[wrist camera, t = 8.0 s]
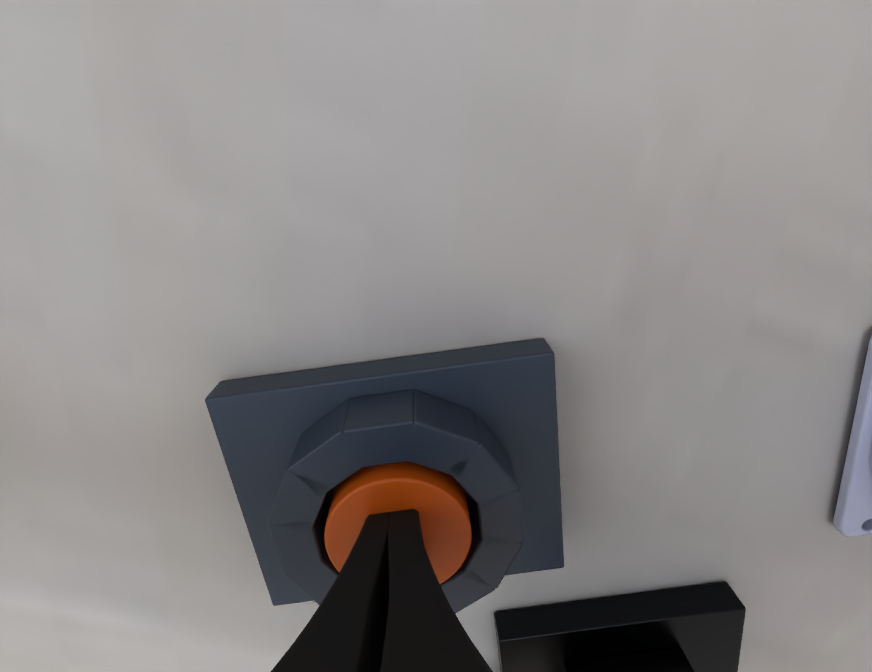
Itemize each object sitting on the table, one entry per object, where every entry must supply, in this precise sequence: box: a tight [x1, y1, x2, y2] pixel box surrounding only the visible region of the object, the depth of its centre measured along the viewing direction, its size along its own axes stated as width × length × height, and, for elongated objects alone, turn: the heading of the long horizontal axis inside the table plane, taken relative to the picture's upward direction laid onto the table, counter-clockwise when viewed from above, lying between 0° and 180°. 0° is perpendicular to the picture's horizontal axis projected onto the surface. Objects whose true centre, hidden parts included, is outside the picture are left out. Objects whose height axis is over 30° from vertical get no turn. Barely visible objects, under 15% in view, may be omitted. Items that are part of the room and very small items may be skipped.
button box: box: [205, 338, 564, 613], centre depth 15 cm, size 10×8×3 cm
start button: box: [324, 461, 472, 584], centre depth 14 cm, size 4×4×2 cm
